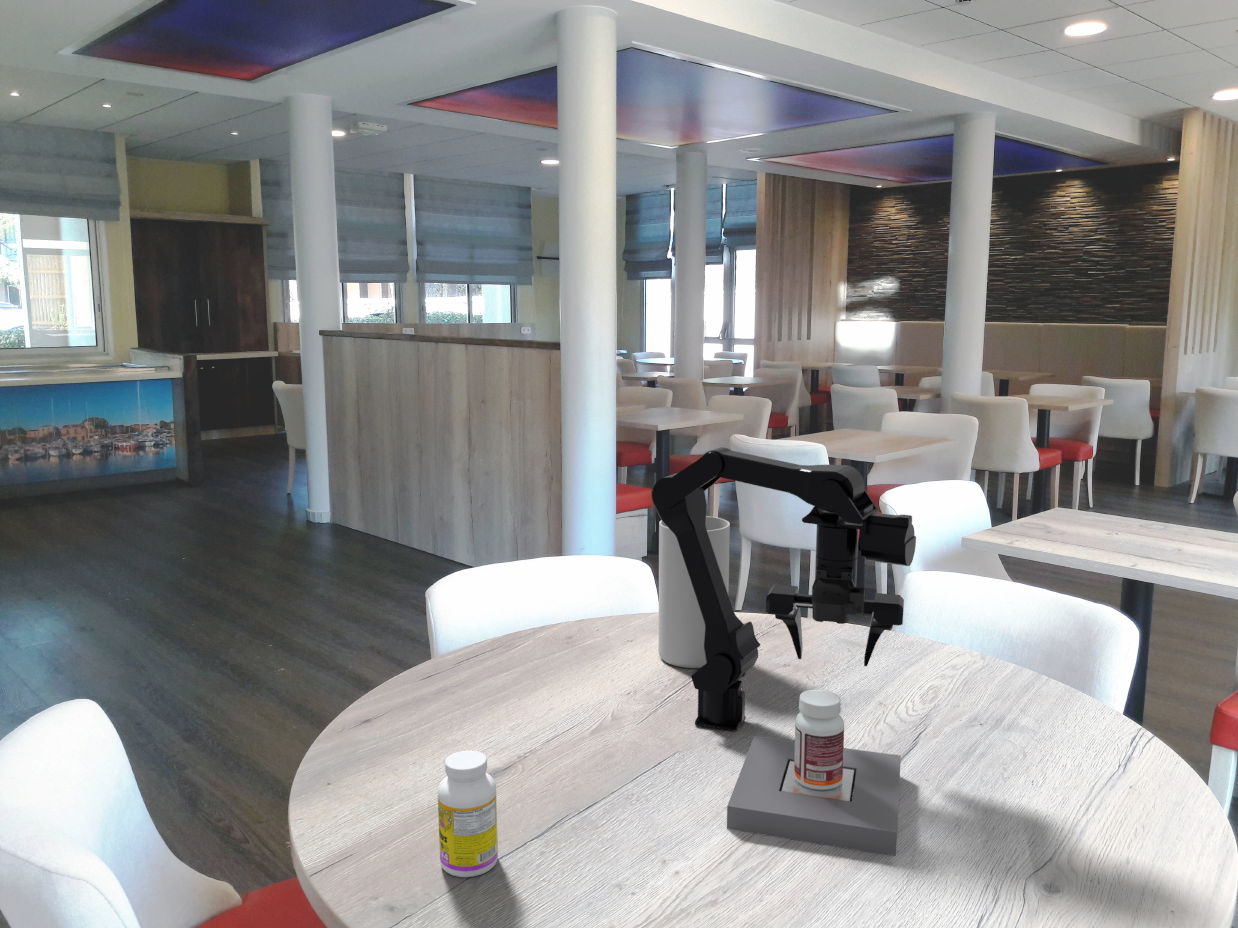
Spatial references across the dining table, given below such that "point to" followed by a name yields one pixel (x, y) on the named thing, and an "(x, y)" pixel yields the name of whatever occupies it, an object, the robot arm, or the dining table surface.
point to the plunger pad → (837, 793)
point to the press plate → (818, 800)
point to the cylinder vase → (685, 596)
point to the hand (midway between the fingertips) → (832, 661)
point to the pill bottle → (819, 740)
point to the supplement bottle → (467, 816)
